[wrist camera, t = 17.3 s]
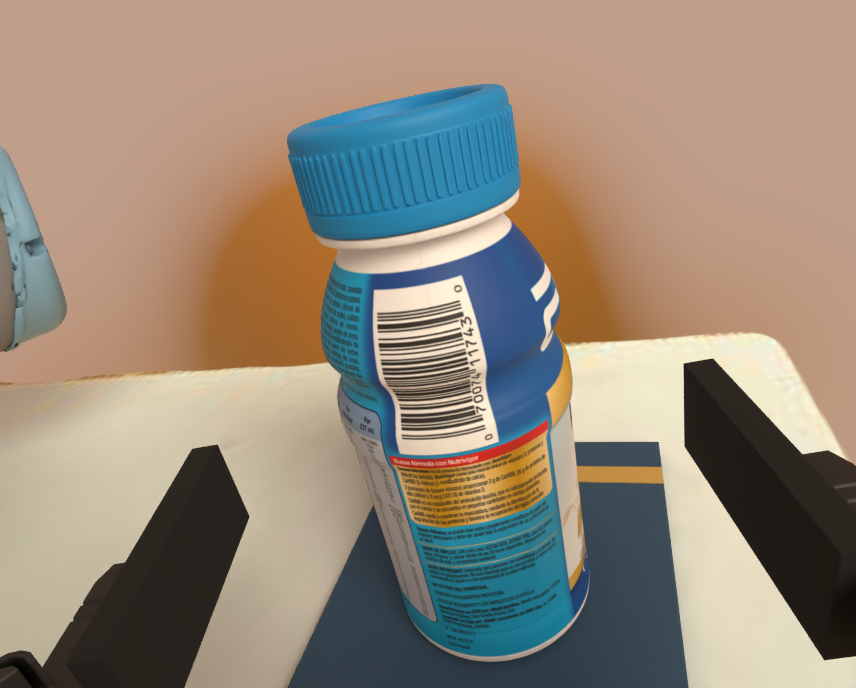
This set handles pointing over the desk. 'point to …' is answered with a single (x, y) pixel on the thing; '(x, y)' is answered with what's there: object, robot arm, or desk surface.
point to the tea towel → (564, 658)
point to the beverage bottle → (450, 365)
